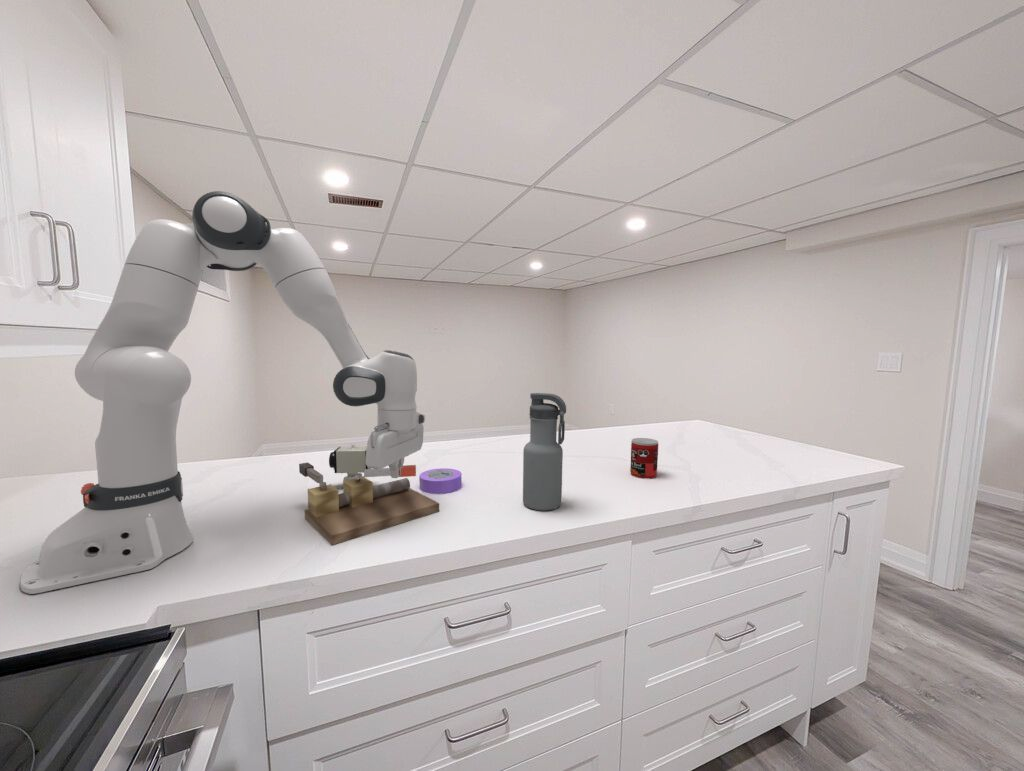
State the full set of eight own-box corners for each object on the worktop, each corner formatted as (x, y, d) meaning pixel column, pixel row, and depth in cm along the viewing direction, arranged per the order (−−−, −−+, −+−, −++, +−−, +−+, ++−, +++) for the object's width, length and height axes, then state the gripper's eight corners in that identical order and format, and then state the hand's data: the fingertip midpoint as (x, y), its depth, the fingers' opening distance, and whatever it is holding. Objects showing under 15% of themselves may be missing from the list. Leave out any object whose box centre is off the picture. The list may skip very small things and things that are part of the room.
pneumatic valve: (373, 489, 113) (372, 446, 112) (329, 490, 112) (328, 447, 110) (378, 482, 118) (377, 441, 117) (336, 483, 117) (334, 442, 116)
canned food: (625, 472, 130) (626, 438, 129) (646, 470, 133) (648, 437, 132) (639, 480, 123) (641, 444, 122) (662, 477, 125) (663, 442, 124)
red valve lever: (415, 478, 100) (415, 467, 99) (354, 482, 97) (353, 470, 96) (415, 475, 102) (415, 464, 101) (355, 479, 99) (355, 468, 98)
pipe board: (332, 545, 81) (330, 495, 80) (291, 505, 101) (290, 465, 100) (439, 511, 98) (439, 470, 97) (387, 482, 118) (386, 448, 117)
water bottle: (565, 499, 107) (568, 392, 104) (559, 514, 97) (562, 397, 95) (527, 495, 110) (529, 391, 107) (518, 509, 100) (519, 395, 97)
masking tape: (412, 486, 116) (411, 473, 116) (447, 477, 124) (447, 465, 123) (433, 498, 107) (433, 483, 107) (469, 488, 115) (469, 474, 115)
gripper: (384, 429, 86) (383, 493, 87) (428, 414, 105) (427, 467, 107) (358, 426, 87) (357, 489, 89) (406, 412, 107) (405, 464, 108)
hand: (396, 477), depth 98 cm, fingers closed
